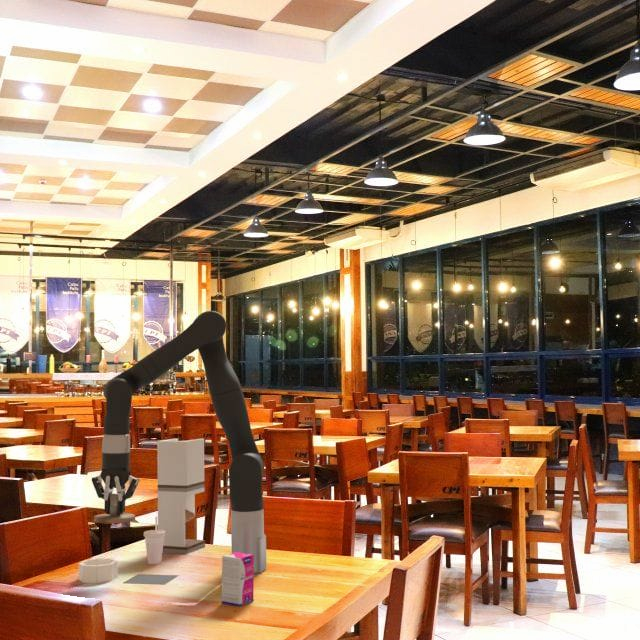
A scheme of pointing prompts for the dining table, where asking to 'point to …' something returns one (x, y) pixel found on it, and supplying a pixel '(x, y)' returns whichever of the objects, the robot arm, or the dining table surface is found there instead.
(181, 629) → the dining table surface
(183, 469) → the white coffee maker
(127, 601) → the dining table surface
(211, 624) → the dining table surface
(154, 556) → the smoothie
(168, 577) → the mat
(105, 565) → the bowl
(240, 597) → the supplement box
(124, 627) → the dining table surface
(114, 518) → the lid
